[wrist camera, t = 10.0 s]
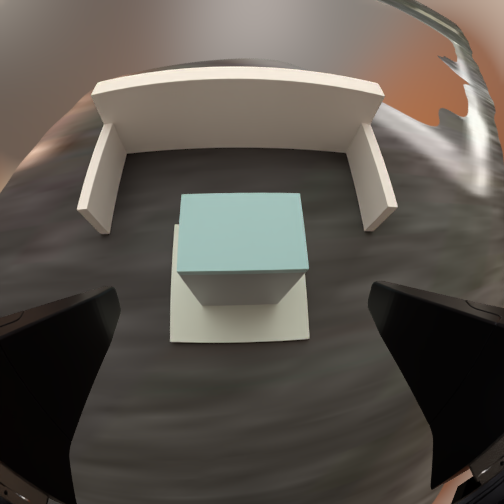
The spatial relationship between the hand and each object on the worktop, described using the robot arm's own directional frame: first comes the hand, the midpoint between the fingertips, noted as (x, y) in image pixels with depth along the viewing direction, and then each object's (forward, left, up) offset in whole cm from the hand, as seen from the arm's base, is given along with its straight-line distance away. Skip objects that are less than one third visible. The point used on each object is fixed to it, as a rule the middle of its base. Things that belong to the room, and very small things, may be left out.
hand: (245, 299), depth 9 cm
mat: (+1, -4, -13) cm, 14 cm away
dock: (+5, -13, -13) cm, 19 cm away
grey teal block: (+1, -4, -13) cm, 14 cm away
